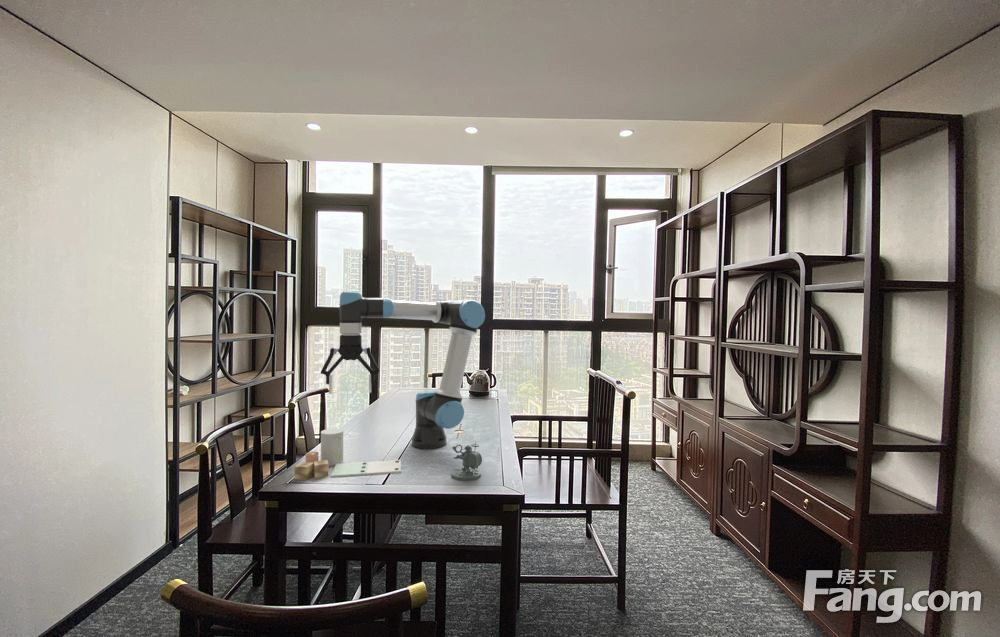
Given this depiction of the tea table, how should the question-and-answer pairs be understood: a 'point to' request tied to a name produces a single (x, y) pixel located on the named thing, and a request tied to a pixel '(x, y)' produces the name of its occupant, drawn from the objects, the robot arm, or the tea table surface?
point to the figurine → (467, 464)
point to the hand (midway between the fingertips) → (350, 392)
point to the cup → (332, 446)
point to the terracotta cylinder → (311, 457)
